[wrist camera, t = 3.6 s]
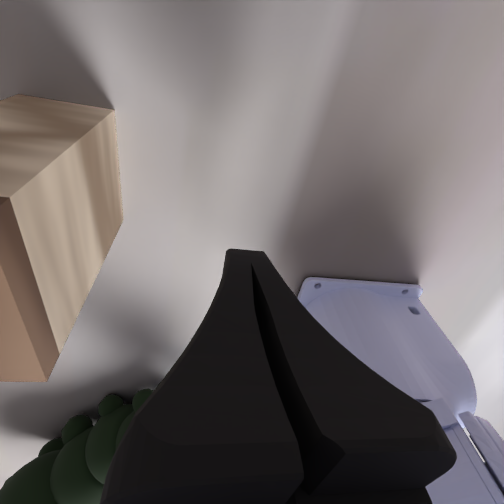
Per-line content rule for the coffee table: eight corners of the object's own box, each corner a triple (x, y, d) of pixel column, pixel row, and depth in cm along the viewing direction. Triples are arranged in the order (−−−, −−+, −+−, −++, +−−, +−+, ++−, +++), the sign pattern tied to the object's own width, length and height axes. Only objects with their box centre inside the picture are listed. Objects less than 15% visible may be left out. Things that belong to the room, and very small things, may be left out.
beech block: (114, 109, 14) (-18, 219, 6) (123, 220, 18) (46, 381, 10) (18, 94, 13) (-274, 196, 5) (47, 212, 17) (-104, 380, 9)
